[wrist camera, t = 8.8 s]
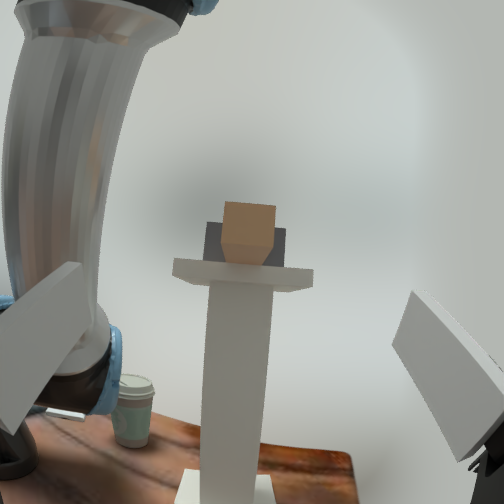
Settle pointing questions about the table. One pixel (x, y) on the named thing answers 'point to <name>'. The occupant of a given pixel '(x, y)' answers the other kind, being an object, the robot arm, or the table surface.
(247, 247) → the hammer
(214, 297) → the tall stand
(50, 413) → the external hard drive
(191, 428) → the table surface
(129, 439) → the coffee cup
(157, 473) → the table surface
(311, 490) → the table surface
